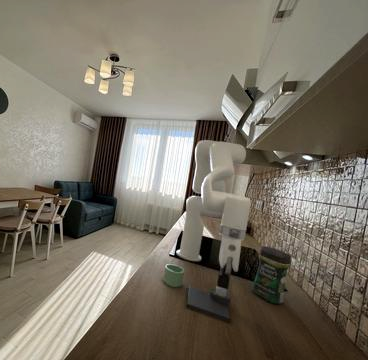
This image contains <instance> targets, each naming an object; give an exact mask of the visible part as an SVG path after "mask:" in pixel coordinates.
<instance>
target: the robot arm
mask: <svg viewBox="0 0 368 360" xmlns="http://www.w3.org/2000/svg"><path fill="white" fill-rule="evenodd" d="M194 157H195V158H194V159H195V170H194V176H193V181H192V190H193V192H194V193H196V194H199V195H201V196H199V195H191V196H189V197H188V198H187V199H186V204H185V209H186V210H185V219H184V225H183V230H182V237H181V242H180V246H179V247H180V248H179V249H177V250H176V252H175V253H176V256H178V257H180V258H182V259H183V260H185V261H191V262H201V261H202V256H201V255H200V250H201V245H202V240H203V234H204V229H205V228H204V227H205V223H204V221H203V219H202V218H201V217H207V218H212V219H217V218H220V217H221V216H222V217H221V221H220V227H219V232H218V234H219V235H220V236H221V240H220V241H221V242H220V246H219V247H220V249H219V254H218V262H219V267H220V268H219V272H218V276H217V281H216V287H217V286H218V287H221V288H224V289H226V290H228V289H229V286H230V285H229V284H230V280H231V273H232V269H233V272H234V273H237V272H238V271H239V265H240V258H241V257H240V256H241V248H242V241H245V239H246V238H245V237H246V233H247V226H248V222H249V217H250V216H249V215H250V212H251V211H250V210H251V205H252V201H251V199H250V198H249V197H247V196H242V195H239V194H236V193H235V194H234V193H230V192H226V191H227V184H226V181H225V180H228V179H230V178H232V177H233V176H234V174H235V166H234V165H241V164H242V163H244V161H245V160H246V157H247V150H246V148H245V147H244V145H242V144H240V143H239V144H238V143H233V142H227V141H217V140H216V141H215V140H211V139H204V140H199V141H198V142H197V144H196V146H195V150H194Z"/></svg>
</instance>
